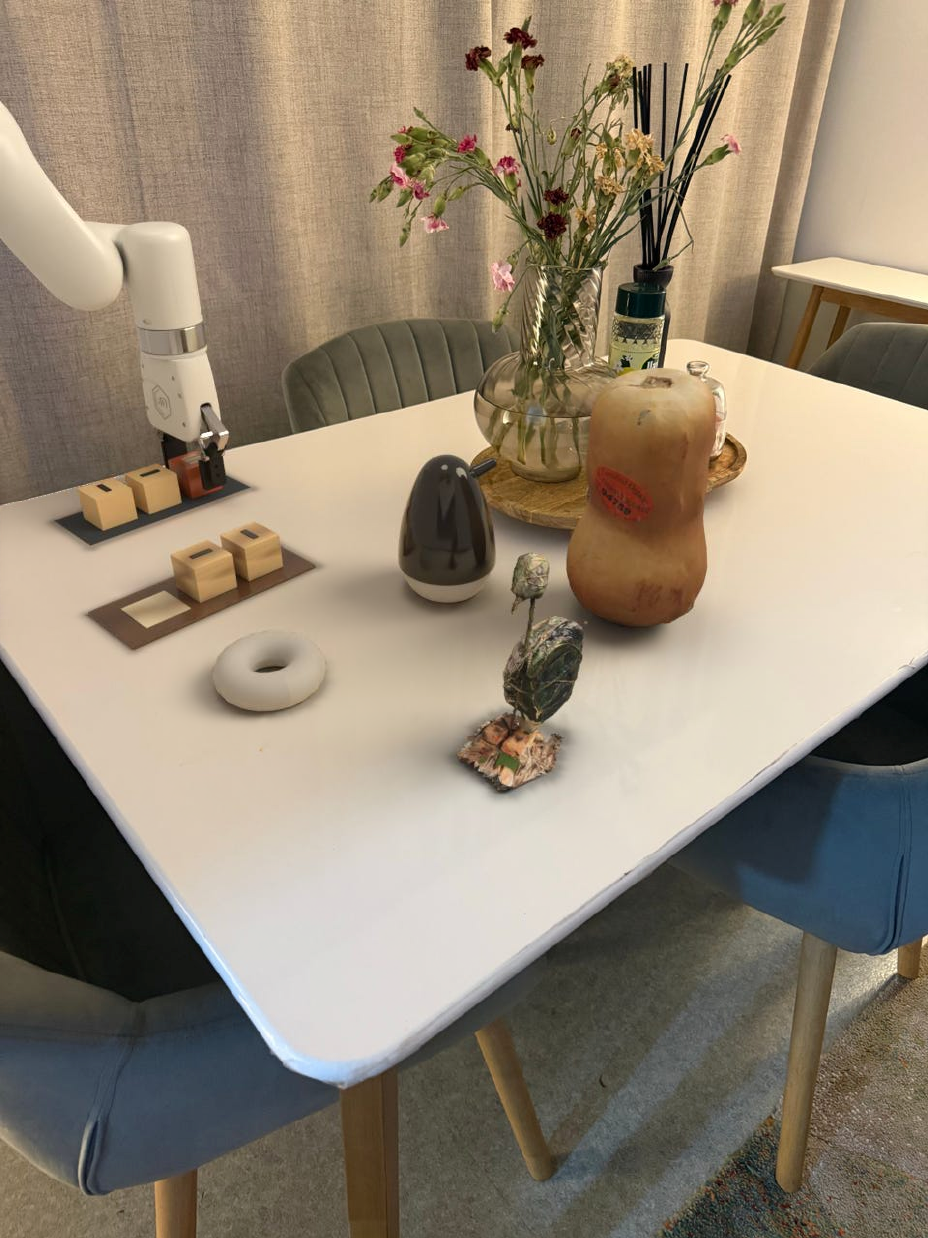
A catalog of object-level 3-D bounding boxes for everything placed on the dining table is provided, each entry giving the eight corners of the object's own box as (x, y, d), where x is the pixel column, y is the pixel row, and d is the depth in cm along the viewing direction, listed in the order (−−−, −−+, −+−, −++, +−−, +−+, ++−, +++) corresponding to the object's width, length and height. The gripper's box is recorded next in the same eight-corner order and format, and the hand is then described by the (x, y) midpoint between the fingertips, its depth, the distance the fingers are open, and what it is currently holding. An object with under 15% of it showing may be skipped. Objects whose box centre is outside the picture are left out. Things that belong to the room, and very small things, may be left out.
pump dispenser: (511, 605, 92) (517, 469, 84) (415, 623, 89) (412, 484, 81) (476, 559, 100) (478, 431, 92) (388, 575, 97) (381, 444, 89)
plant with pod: (605, 749, 73) (632, 534, 62) (495, 805, 68) (504, 580, 57) (543, 699, 79) (558, 494, 68) (437, 747, 73) (434, 532, 63)
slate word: (55, 524, 106) (45, 488, 104) (212, 471, 120) (207, 438, 117) (91, 549, 101) (82, 512, 99) (251, 491, 115) (247, 457, 112)
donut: (279, 641, 86) (192, 687, 80) (276, 611, 85) (186, 655, 78) (349, 682, 81) (262, 735, 75) (348, 651, 79) (258, 702, 73)
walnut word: (89, 616, 90) (78, 576, 87) (267, 542, 103) (262, 506, 101) (135, 652, 85) (125, 610, 82) (316, 569, 98) (312, 531, 95)
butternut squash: (536, 622, 89) (551, 377, 76) (602, 570, 98) (627, 343, 85) (660, 672, 82) (702, 413, 69) (720, 611, 91) (767, 371, 78)
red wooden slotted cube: (173, 488, 114) (167, 458, 112) (203, 478, 117) (198, 448, 114) (192, 499, 111) (187, 468, 109) (222, 488, 114) (218, 458, 112)
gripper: (105, 330, 106) (134, 466, 116) (185, 360, 96) (209, 507, 106) (161, 318, 111) (184, 450, 120) (242, 346, 101) (261, 488, 111)
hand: (196, 476), depth 113 cm, fingers open, 7 cm apart
